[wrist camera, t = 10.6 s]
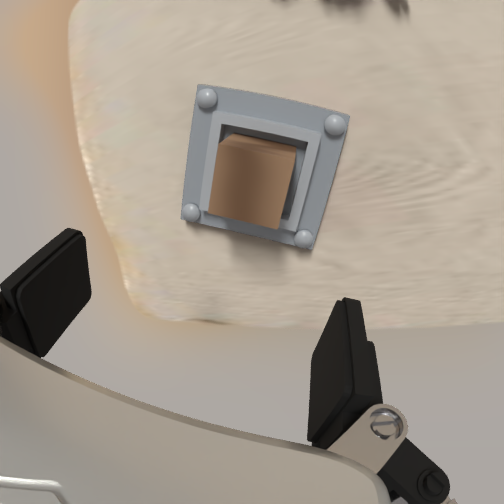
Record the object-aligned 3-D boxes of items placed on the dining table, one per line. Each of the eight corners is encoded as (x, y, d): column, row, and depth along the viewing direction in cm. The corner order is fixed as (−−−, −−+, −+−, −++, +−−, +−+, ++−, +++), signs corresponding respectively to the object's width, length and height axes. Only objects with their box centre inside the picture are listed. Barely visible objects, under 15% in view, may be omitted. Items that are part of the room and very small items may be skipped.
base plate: (348, 114, 23) (352, 117, 21) (311, 243, 29) (311, 256, 27) (202, 84, 24) (193, 84, 22) (184, 213, 30) (175, 224, 28)
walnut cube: (296, 146, 24) (294, 160, 20) (282, 203, 27) (277, 229, 22) (234, 132, 24) (218, 143, 20) (223, 190, 27) (207, 213, 23)
